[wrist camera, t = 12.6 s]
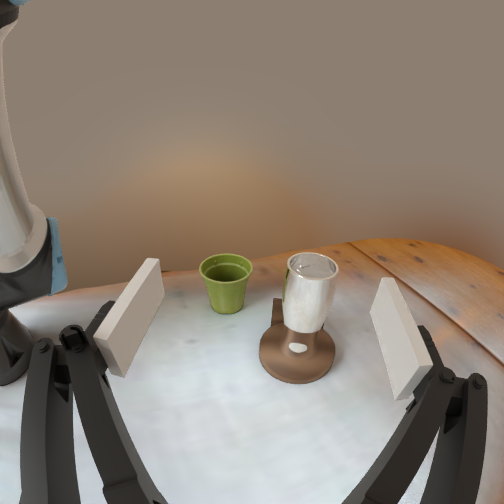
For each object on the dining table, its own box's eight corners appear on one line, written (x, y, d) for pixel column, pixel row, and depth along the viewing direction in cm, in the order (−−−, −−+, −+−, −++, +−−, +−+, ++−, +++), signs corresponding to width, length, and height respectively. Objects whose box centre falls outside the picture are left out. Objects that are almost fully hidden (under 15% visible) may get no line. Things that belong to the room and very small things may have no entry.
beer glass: (272, 359, 39) (282, 276, 32) (279, 328, 45) (288, 248, 38) (319, 365, 38) (341, 284, 31) (320, 333, 44) (338, 254, 37)
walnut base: (335, 384, 37) (345, 360, 34) (255, 381, 38) (257, 355, 35) (328, 327, 48) (335, 302, 45) (262, 323, 49) (264, 297, 46)
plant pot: (261, 303, 54) (263, 265, 50) (228, 328, 48) (226, 289, 44) (226, 284, 59) (225, 248, 55) (192, 305, 53) (188, 267, 49)
